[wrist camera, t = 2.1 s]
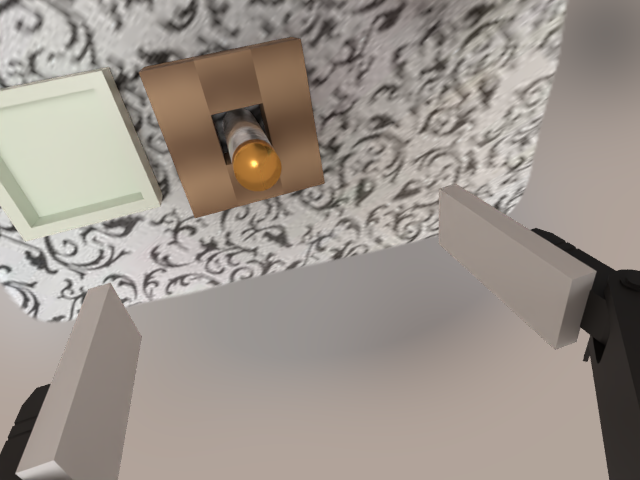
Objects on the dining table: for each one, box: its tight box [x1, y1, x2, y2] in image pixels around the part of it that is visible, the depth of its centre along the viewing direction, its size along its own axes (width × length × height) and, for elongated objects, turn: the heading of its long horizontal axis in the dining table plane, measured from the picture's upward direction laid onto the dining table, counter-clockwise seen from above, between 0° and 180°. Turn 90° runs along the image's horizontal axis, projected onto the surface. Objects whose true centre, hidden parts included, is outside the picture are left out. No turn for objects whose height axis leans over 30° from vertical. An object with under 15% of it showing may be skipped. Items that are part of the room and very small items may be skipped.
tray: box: [0, 67, 163, 242], centre depth 30 cm, size 11×11×3 cm
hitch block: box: [139, 37, 325, 218], centre depth 33 cm, size 12×12×4 cm
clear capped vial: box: [223, 108, 282, 191], centre depth 29 cm, size 3×3×12 cm
